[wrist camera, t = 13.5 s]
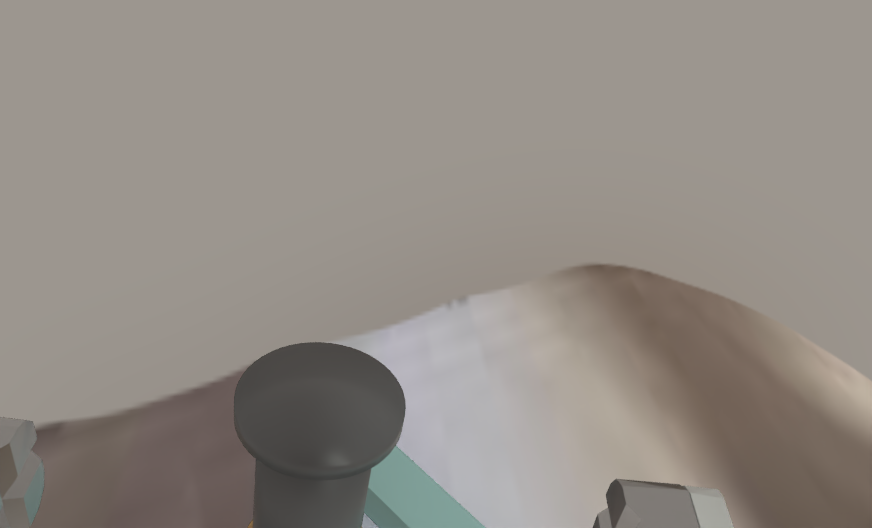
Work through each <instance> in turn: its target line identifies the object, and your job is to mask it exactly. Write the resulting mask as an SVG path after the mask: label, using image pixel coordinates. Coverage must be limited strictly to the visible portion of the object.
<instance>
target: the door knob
mask: <svg viewBox="0 0 872 528" xmlns="http://www.w3.org/2000/svg"><path fill="white" fill-rule="evenodd" d="M405 409H406V408H405V398H404V393H403V391H402V388H401V386H400V384H399V382H398V381H397V379H396V378H395V376H394V375H393V374H392V373H391V371H390V370H389V369H387V368H386V367H385V366H384V365H383V364H382V363H380V362H379V361H378V360H376V359H375V358H373V357H371V356H370V355H368V354H366V353H363V352H361V351H359V350H356V349H353V348H351V347H347V346H343V345H338V344H332V343H321V342H315V343H300V344H295V345H289V346H286V347H282V348H279V349H277V350H274V351H272V352H270V353H268V354H266V355H264V356H262V357H261V358H260V359H258V360H257V361H255V362H254V363H253V364H252V365H251V366H250V367H249V368H248V369H247V370H246V371H245V372H244V374H243V375H242V377H241V378H240V380H239V382H238V385H237V387H236V391H235V396H234V424H235V429H236V432H237V434H238V437H239V439H240V441H241V442H242V444H243V446H244V447H245V448H246V449H247V450H248V452H249V453H250V454H251V455H252V456H253V457H255V458H256V471H255V491H254V511H253V520H252V521H251V523H250V524H249V526H248V528H362V521H363V515H364V509H365V503H366V497H367V491H368V485H369V480H370V474H371V468H373V467H374V466H376V465H377V464H379V463H380V462H381V461H383V460H384V459H385V458H386V457H387V456H388V455H389V454H390V453H391V451H392V450H393V449H394V447H395V446H396V444H397V442H398V440H399V438H400V435H401V432H402V427H403V421H404V416H405Z"/></svg>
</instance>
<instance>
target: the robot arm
mask: <svg viewBox="0 0 872 528" xmlns="http://www.w3.org/2000/svg"><path fill="white" fill-rule="evenodd" d="M36 440H37V435H36V431H35V427H34V424H33V422H32V421H27V420H19V419H12V418H4V417H0V528H29V527H30V526H31V524H32V522H33V520H34V518H35V515H36V513H37V511H38V509H39V505H40V501H41V497H42V493H43V489H44V467H43V462H42V459H41V458H40V457H39V456H38V455H36V454H35V453H34V452H33V451H32V450H31V449H32V448H33V446H34V444H35V442H36ZM606 498H607V504H608V508H607V509H605V510H603V511H602V512H600V513H598V515H597V517H596V520H595V523H594V526H593V528H734V526H733V523H732V520H731V517H730V514H729V511H728V508H727V505H726V502H725V499H724V496H723V495H722V493H721V492H720V491H719V490H718V489H712V488H702V487H693V486H681V485H680V484H668V483H657V482H646V481H634V480H623V479H615V480H614V481H613V482H612V483H611V484H610V486H609V489H608V491H607V493H606Z"/></svg>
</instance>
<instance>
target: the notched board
mask: <svg viewBox="0 0 872 528" xmlns="http://www.w3.org/2000/svg"><path fill="white" fill-rule="evenodd" d="M364 513H365V514H366V515H367V516H368V517H369V518H370V519H371V520H372V521H373V522H374V523H375V524H376V525H377V526H378V527H379V528H485V527H484V526H483V525H482V524H481V523H480V522H479V521H478V520H477V519H475V518H474V517H473V516H472V515H471V514H470V513H469V512H468V511H467V510H466V509H465V508H463V507H462V506H461V505H460V504H459V503H458V502H457V501H456V500H455V499H454V498H453V497H451V496H450V495H449V494H448V493H447V492H446V491H445V490H444V489H443V488H442V487H441V486H439V485H438V484H437V483H436V482H435V481H434V480H433V479H432V478H431V477H430V476H428V475H427V474H426V473H425V472H424V471H423V470H422V469H421V468H420V467H419V466H418V465H416V464H415V463H414V462H413V461H412V460H411V459H410V458H409V457H408V456H407V455H406V454H404V453H403V452H402V451H401V450H400V449H399V448H398V447H397V446H395V447H394V449H393V450H392V451H391V453H390V454H389V455H388V456H387V457H386V458H385V459H384V460H383V461H381V462H380V463H379V464H377V465H376V466H374V467H373V468H371V474H370V480H369V485H368V491H367V497H366V503H365V509H364Z"/></svg>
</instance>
